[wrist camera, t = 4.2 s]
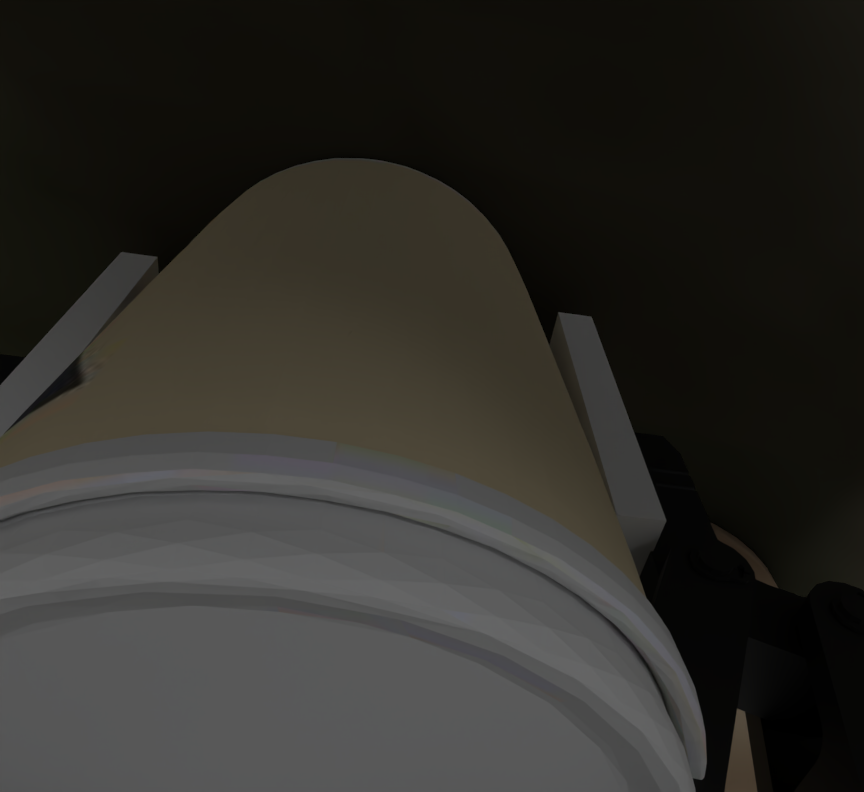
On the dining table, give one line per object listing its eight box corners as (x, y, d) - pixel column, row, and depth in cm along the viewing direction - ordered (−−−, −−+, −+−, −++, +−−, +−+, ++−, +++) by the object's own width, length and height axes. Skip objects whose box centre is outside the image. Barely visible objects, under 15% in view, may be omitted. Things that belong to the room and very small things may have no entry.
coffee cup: (122, 101, 15) (-522, 512, 5) (590, 124, 15) (893, 562, 5) (186, 467, 20) (-63, 1031, 10) (534, 480, 20) (630, 1048, 10)
